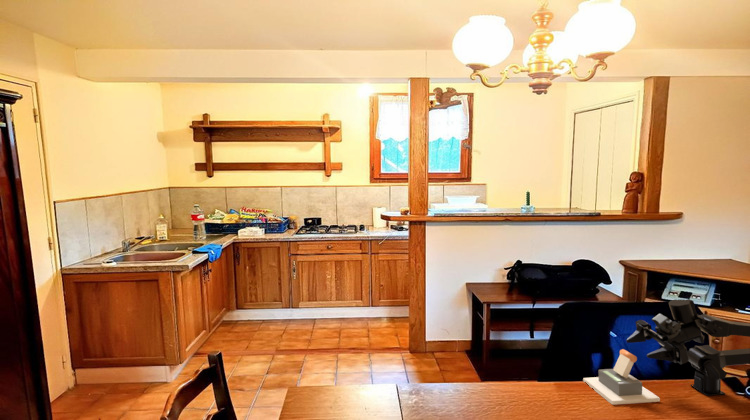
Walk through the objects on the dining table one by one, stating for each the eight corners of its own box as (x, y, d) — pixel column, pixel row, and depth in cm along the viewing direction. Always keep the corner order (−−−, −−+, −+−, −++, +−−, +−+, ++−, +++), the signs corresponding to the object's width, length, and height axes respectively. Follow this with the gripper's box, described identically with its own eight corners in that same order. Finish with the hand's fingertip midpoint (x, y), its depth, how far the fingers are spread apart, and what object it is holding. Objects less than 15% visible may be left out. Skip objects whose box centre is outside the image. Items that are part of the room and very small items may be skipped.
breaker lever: (617, 371, 132) (626, 350, 132) (628, 378, 127) (638, 357, 127) (611, 369, 132) (621, 348, 132) (622, 376, 127) (632, 354, 127)
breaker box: (625, 378, 138) (625, 363, 138) (659, 401, 123) (660, 385, 123) (583, 381, 137) (583, 366, 136) (612, 404, 122) (612, 388, 121)
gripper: (654, 300, 136) (613, 314, 136) (702, 326, 118) (654, 342, 118) (659, 327, 139) (618, 341, 139) (707, 357, 120) (660, 373, 120)
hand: (636, 348), depth 129 cm, fingers open, 9 cm apart
